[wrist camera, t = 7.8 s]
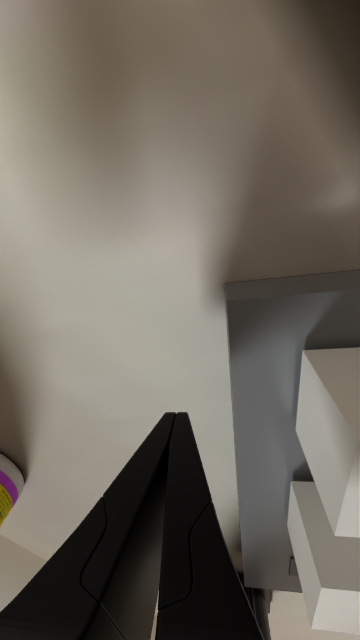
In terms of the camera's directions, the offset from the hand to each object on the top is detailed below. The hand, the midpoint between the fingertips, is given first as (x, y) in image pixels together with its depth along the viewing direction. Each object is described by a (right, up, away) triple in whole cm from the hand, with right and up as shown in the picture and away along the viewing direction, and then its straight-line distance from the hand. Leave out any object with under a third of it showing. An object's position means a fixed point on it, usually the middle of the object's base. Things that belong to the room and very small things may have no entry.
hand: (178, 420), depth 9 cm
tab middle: (+7, -6, +3) cm, 10 cm away
